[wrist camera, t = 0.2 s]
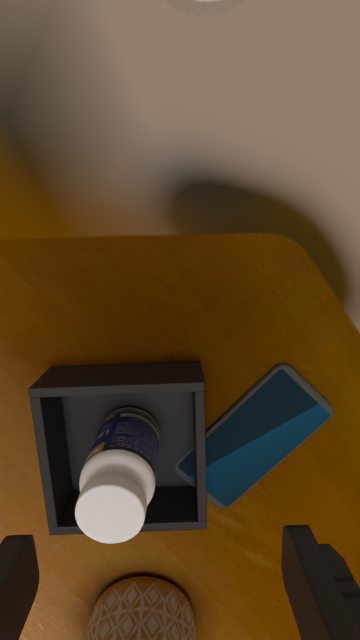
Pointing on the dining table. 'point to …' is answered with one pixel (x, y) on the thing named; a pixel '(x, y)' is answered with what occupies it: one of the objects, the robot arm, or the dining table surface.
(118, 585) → the planter
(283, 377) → the smartphone
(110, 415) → the pill bottle
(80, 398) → the black box
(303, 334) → the dining table surface
